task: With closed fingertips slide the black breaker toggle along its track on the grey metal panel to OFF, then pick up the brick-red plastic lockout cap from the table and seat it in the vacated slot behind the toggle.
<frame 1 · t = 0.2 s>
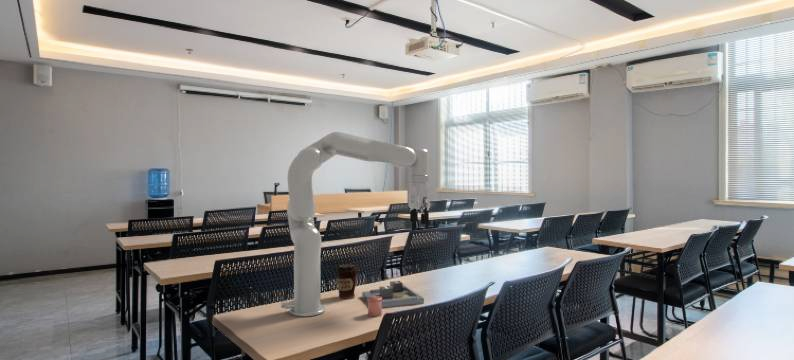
hand: (419, 222, 178), 31 cm above the table, fingers open, 9 cm apart
lockout cap: (374, 314, 160), on the table
toggle A: (386, 292, 173), point 4 cm above the table, slide at 0.0 cm
coffee cup: (347, 297, 182), on the table
breaker panel: (392, 299, 178), on the table
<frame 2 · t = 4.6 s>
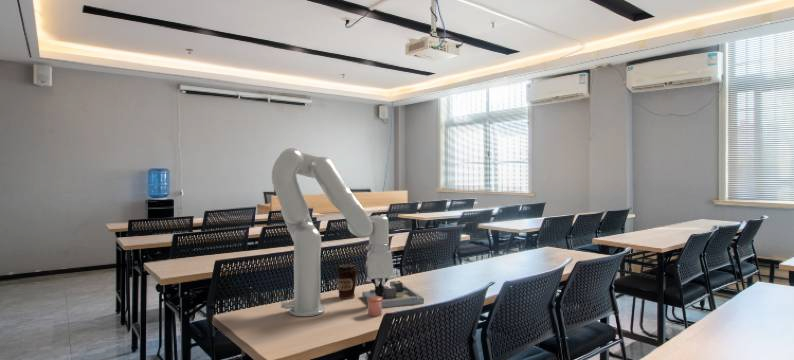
hand: (379, 295, 172), 3 cm above the table, fingers closed
toggle A: (389, 292, 173), point 4 cm above the table, slide at 1.5 cm, touching gripper
everything else where it was.
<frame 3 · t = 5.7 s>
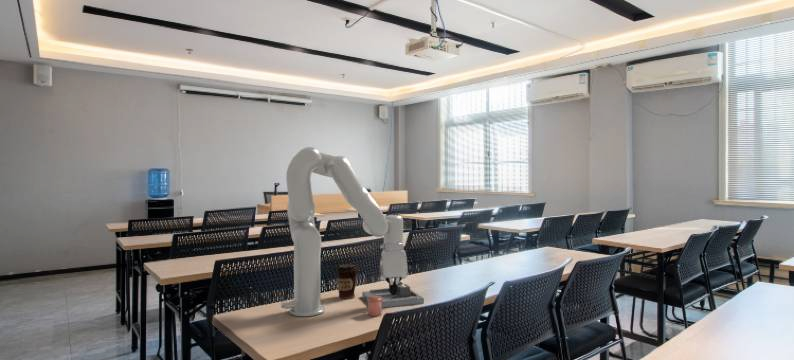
hand: (393, 294, 174), 3 cm above the table, fingers closed
toggle A: (403, 290, 175), point 4 cm above the table, slide at 7.2 cm, touching gripper
everything else where it was.
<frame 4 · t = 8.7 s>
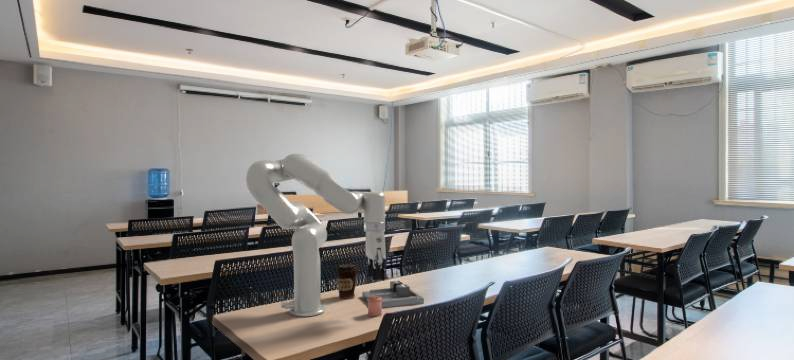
hand: (374, 277, 160), 13 cm above the table, fingers open, 4 cm apart
toggle A: (402, 290, 175), point 4 cm above the table, slide at 7.0 cm
everything else where it was.
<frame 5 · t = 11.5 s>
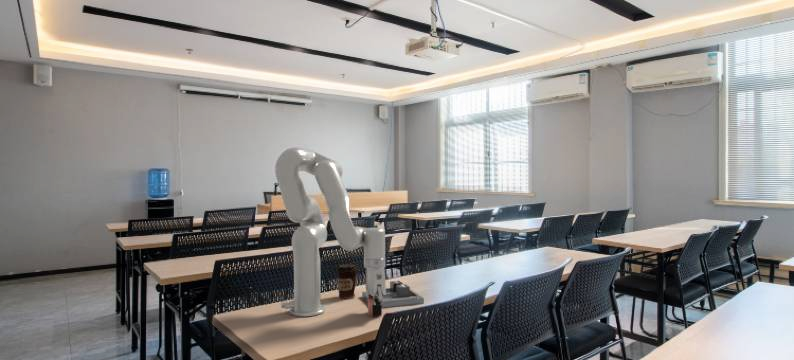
hand: (374, 312, 160), 1 cm above the table, fingers closed on lockout cap, 4 cm apart
lockout cap: (374, 314, 160), on the table, touching gripper
everything else where it was.
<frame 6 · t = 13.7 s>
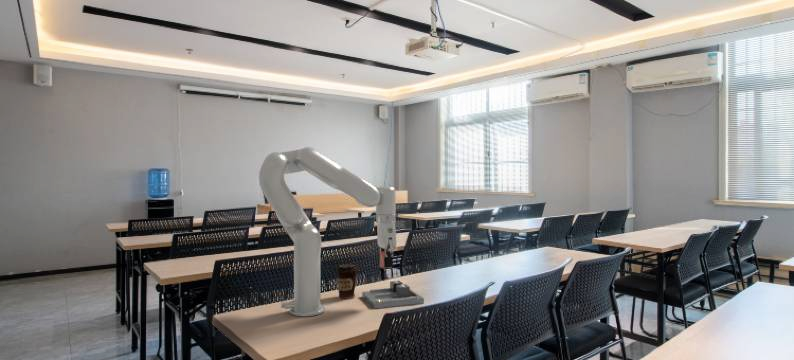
hand: (386, 265, 173), 15 cm above the table, fingers closed on lockout cap, 4 cm apart
lockout cap: (386, 266, 173), point 14 cm above the table, touching gripper
everything else where it was.
when the fingers open (4 cm above the table, at t = 16.4 s): lockout cap stays where it is, resting on breaker panel.
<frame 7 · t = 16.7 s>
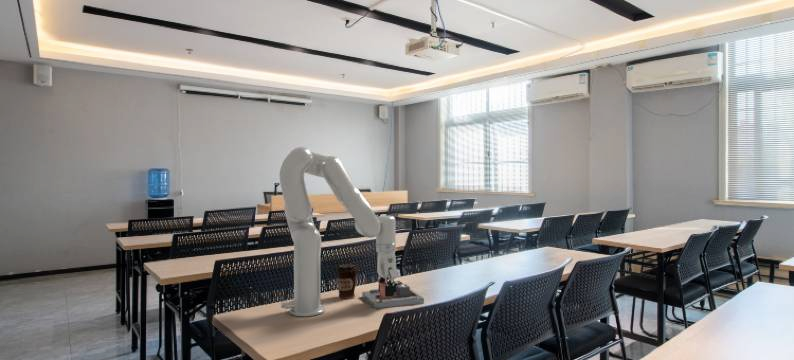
hand: (386, 293, 173), 4 cm above the table, fingers open, 7 cm apart
lockout cap: (386, 298, 173), point 2 cm above the table, touching breaker panel
everything else where it was.
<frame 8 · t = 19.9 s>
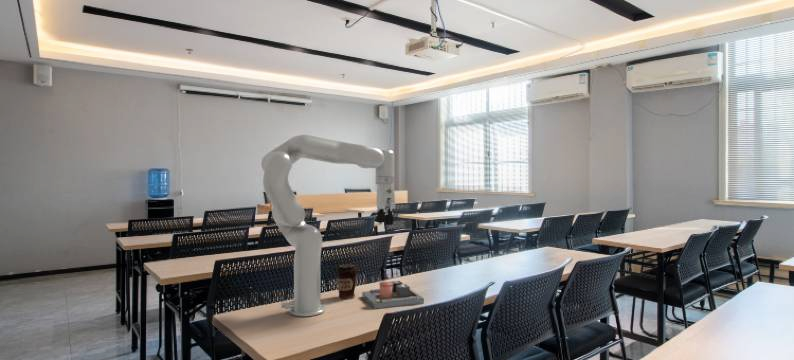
hand: (384, 223, 180), 30 cm above the table, fingers open, 9 cm apart
nothing on the table moved.
at the end: toggle A slide at 7.0 cm; lockout cap 0.0 cm from the target spot, point 2.0 cm above the table; lockout cap tilted 0° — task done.
